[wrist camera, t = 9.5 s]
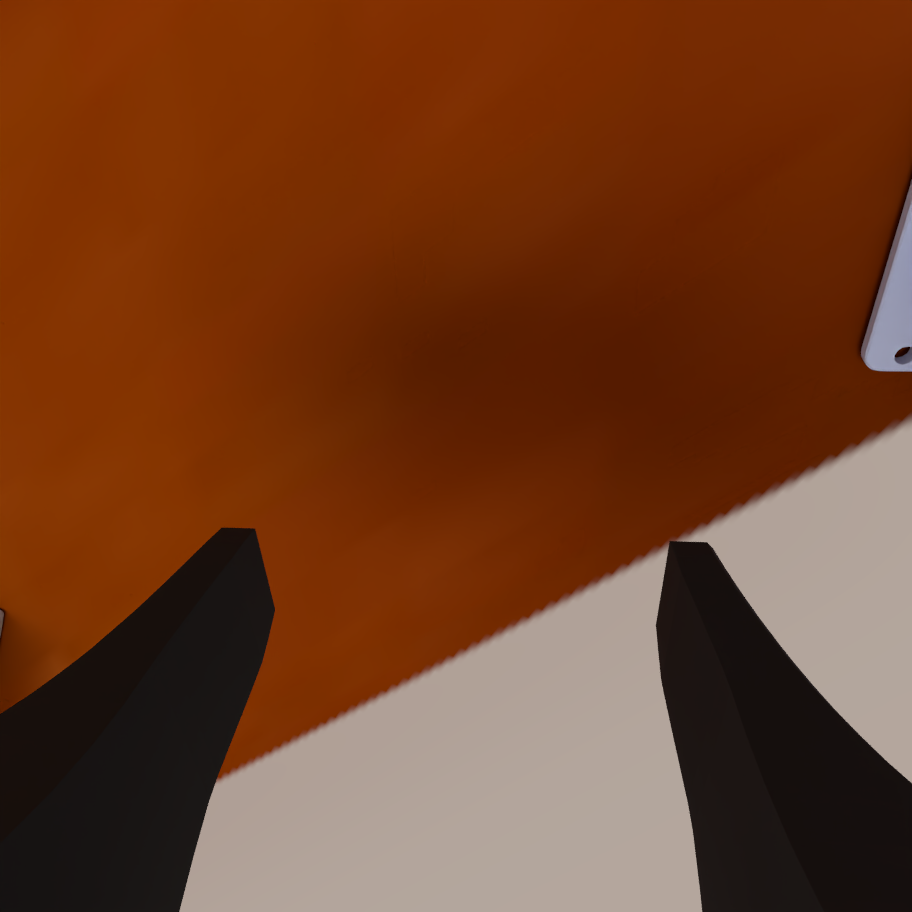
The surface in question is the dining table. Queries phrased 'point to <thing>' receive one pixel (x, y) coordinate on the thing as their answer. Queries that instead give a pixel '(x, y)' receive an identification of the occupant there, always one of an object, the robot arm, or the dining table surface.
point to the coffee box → (1, 620)
